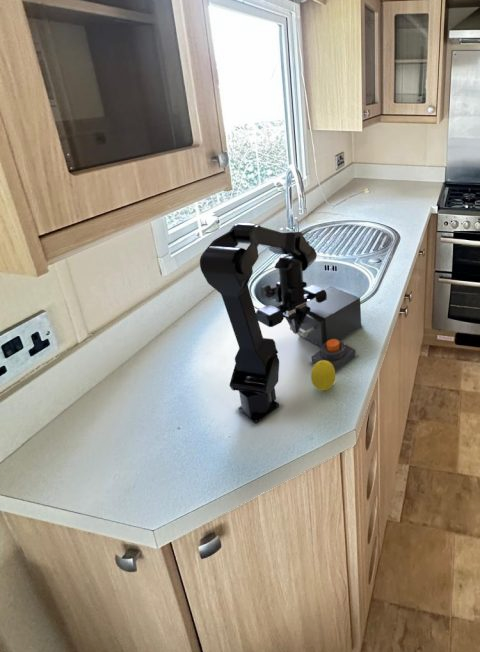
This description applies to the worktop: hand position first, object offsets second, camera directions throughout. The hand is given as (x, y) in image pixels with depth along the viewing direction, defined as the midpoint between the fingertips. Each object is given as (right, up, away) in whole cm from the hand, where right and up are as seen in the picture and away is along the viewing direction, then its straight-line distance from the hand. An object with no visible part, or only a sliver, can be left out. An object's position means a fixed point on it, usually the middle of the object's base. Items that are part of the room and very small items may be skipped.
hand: (295, 333), depth 107 cm
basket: (+5, -2, +8) cm, 10 cm away
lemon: (+9, -11, -12) cm, 18 cm away
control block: (+10, -7, -2) cm, 12 cm away
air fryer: (+8, -2, +11) cm, 14 cm away
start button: (+10, -3, -3) cm, 11 cm away
